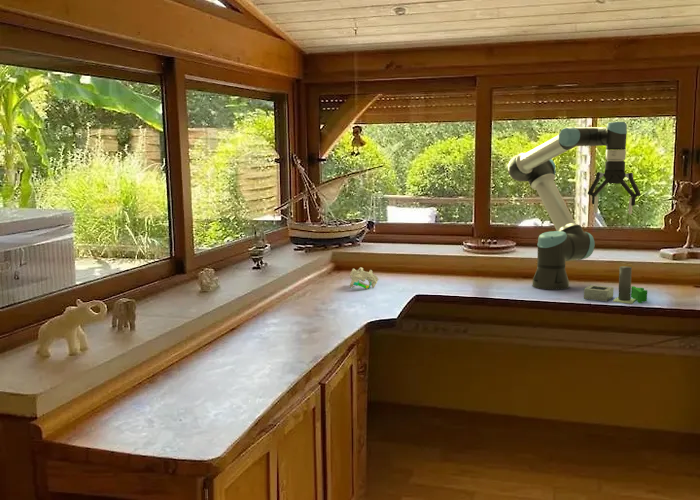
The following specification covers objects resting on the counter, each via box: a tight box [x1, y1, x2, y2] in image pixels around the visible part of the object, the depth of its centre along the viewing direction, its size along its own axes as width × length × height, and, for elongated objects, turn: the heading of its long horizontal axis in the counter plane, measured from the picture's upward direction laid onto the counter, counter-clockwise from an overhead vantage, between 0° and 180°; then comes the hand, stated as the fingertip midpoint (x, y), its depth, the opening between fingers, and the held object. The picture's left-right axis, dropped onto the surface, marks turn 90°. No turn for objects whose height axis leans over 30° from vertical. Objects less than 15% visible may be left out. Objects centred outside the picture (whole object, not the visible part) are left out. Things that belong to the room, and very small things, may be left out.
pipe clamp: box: [631, 285, 648, 304], centre depth 277 cm, size 11×4×5 cm, turn 174°
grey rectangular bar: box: [617, 265, 633, 301], centre depth 274 cm, size 4×4×13 cm
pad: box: [612, 296, 637, 305], centre depth 275 cm, size 7×7×1 cm
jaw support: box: [349, 266, 379, 290], centre depth 304 cm, size 12×9×10 cm
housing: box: [583, 284, 614, 302], centre depth 281 cm, size 9×9×4 cm
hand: (612, 213), depth 288 cm, fingers open, 13 cm apart
